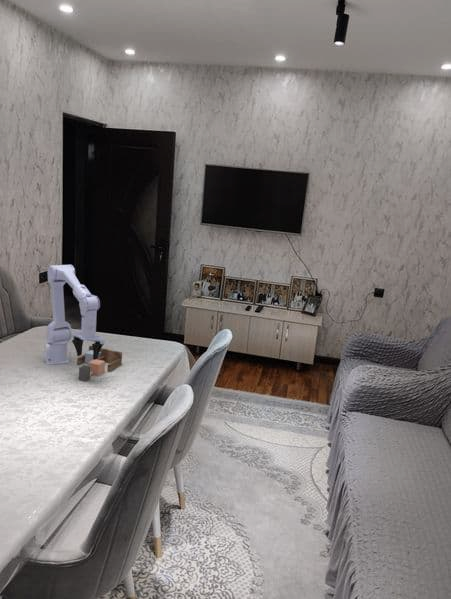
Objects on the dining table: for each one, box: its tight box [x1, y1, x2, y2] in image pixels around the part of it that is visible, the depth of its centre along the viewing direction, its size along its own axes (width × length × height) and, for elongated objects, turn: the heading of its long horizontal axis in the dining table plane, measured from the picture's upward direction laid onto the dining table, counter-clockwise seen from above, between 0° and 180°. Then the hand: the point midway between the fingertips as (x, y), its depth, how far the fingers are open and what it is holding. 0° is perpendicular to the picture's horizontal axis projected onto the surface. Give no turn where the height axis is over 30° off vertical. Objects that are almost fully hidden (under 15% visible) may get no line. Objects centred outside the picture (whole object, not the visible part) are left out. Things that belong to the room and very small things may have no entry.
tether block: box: [78, 359, 106, 382], centre depth 195 cm, size 5×13×6 cm, turn 163°
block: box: [84, 350, 101, 365], centre depth 210 cm, size 5×5×5 cm
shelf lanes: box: [76, 345, 123, 373], centre depth 209 cm, size 17×10×6 cm, turn 73°
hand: (87, 357), depth 191 cm, fingers open, 7 cm apart
